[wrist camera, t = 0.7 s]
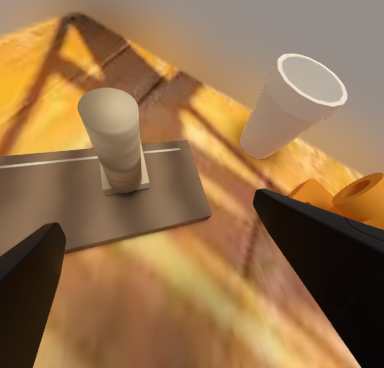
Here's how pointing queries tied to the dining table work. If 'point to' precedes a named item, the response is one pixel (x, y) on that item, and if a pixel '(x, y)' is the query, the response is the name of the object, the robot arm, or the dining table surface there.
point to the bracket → (348, 199)
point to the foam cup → (291, 104)
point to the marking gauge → (115, 139)
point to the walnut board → (97, 196)
